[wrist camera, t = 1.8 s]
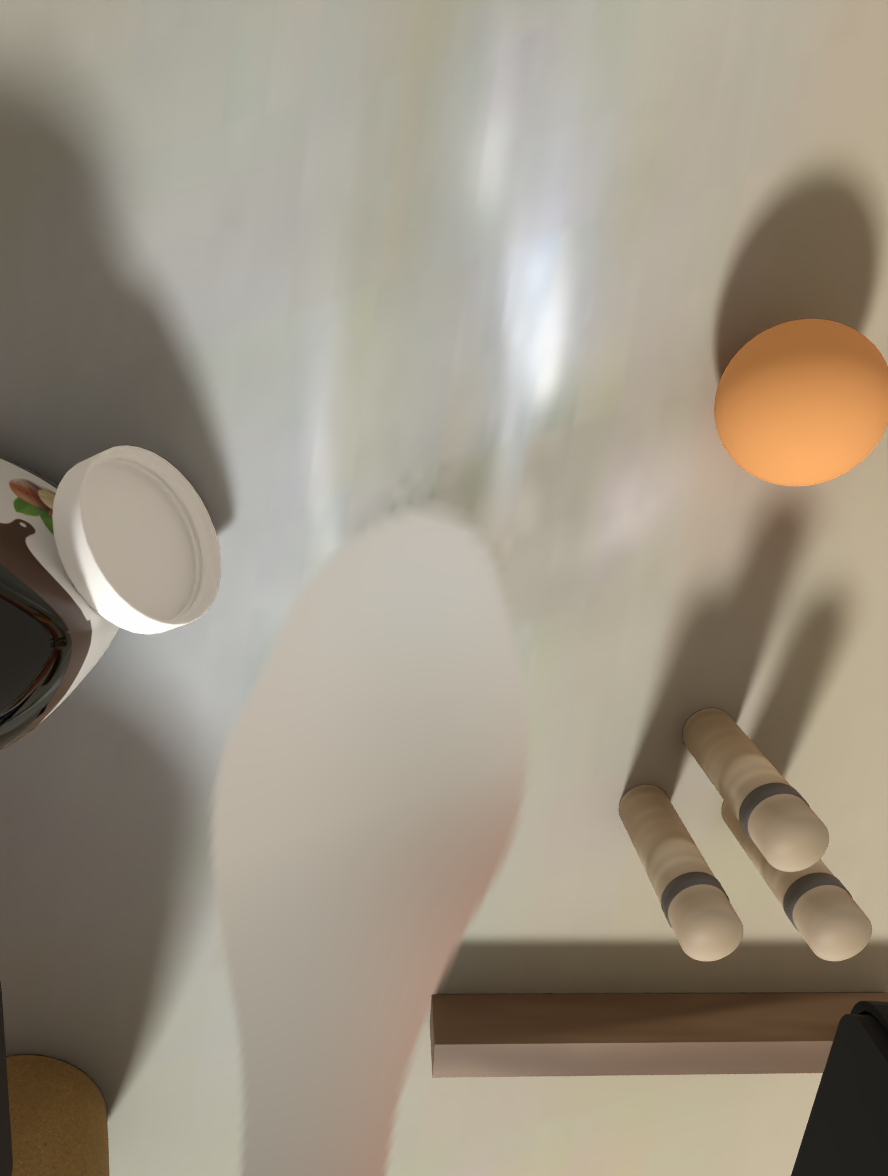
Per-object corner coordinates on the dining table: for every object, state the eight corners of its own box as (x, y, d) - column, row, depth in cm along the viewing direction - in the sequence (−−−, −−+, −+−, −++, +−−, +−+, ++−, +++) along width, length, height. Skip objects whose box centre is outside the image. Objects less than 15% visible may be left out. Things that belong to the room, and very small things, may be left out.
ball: (703, 315, 31) (772, 311, 26) (850, 324, 32) (950, 322, 26) (681, 468, 33) (741, 497, 27) (821, 475, 34) (909, 504, 28)
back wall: (431, 994, 41) (434, 1044, 38) (886, 992, 42) (922, 1040, 40) (429, 1025, 41) (432, 1077, 38) (878, 1022, 43) (912, 1071, 40)
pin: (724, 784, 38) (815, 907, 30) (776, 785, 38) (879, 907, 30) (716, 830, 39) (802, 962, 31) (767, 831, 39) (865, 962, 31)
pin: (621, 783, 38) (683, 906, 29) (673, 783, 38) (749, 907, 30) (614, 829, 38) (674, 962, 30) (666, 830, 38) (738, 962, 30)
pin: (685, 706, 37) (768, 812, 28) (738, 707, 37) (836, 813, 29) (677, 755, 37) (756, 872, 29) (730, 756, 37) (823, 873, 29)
